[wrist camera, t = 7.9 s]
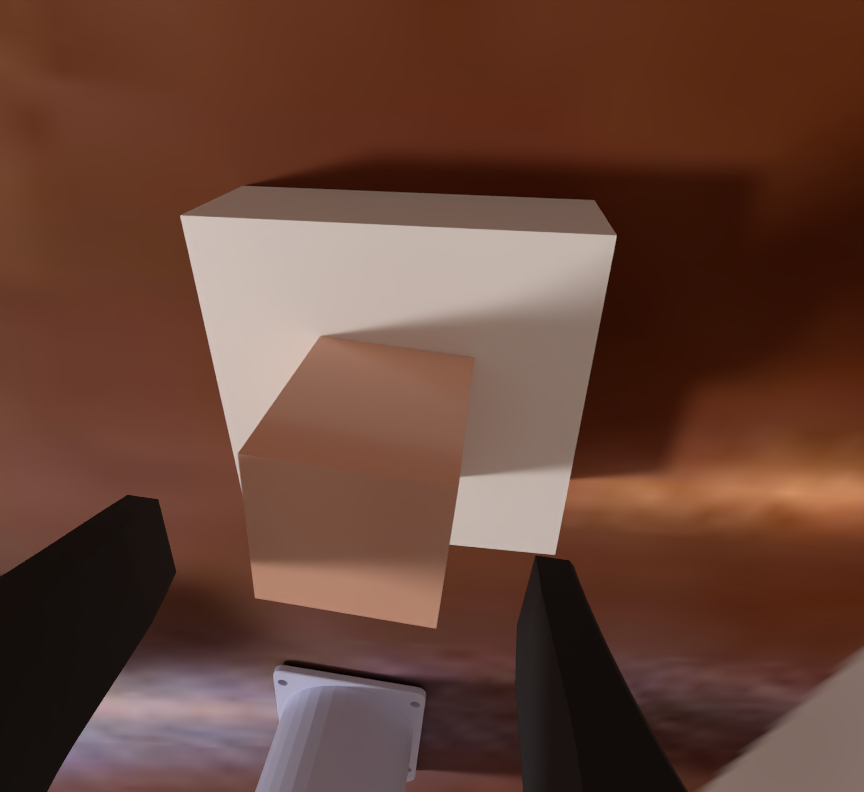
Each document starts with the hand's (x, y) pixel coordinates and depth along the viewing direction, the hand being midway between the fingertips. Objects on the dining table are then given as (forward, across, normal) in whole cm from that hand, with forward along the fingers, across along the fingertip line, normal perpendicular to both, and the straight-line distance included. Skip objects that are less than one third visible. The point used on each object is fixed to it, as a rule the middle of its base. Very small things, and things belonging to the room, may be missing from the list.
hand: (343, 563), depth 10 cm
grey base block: (+9, 0, 0) cm, 9 cm away
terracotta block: (+5, 0, 0) cm, 5 cm away
